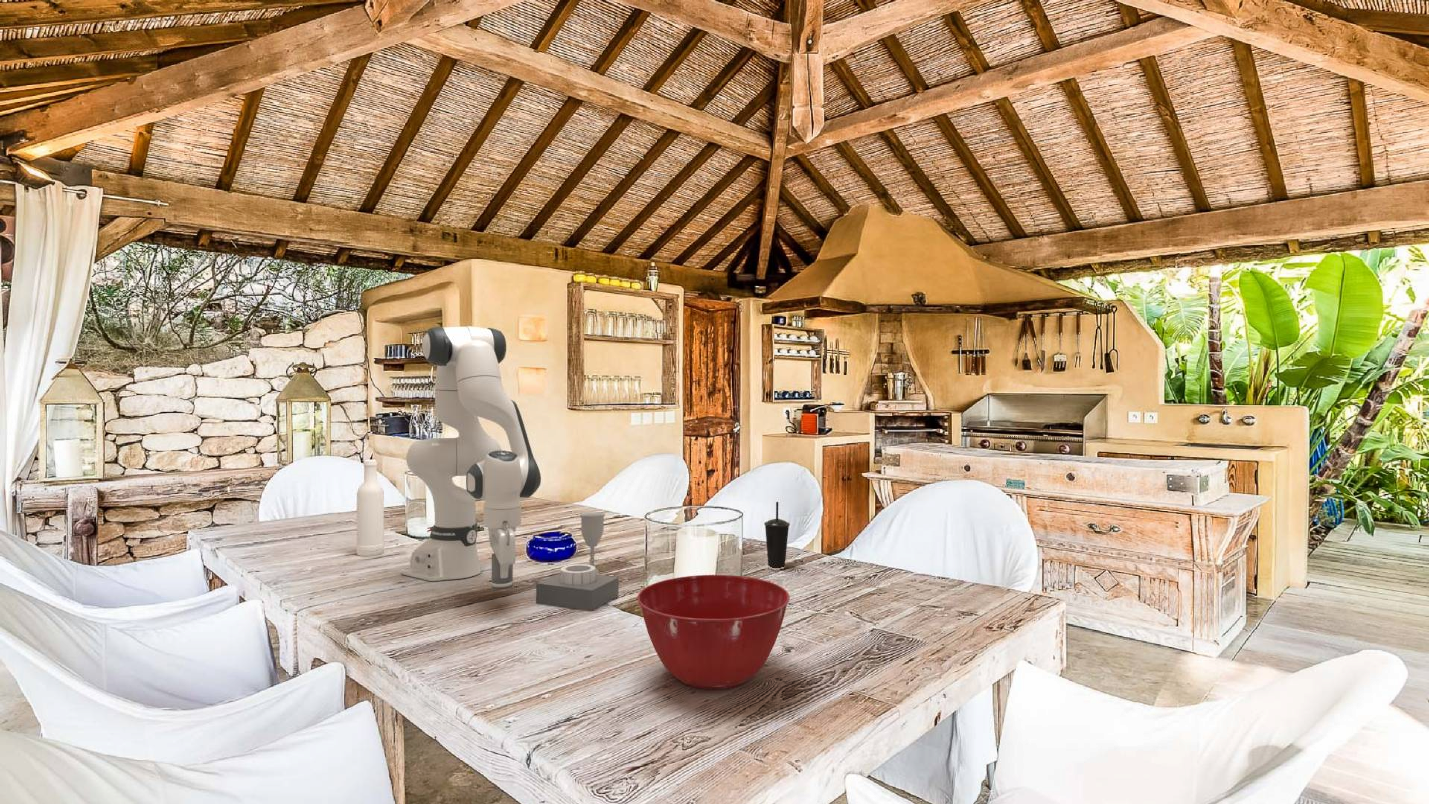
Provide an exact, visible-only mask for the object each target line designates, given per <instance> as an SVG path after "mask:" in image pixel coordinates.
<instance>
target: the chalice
mask: <svg viewBox="0 0 1429 804" xmlns="http://www.w3.org/2000/svg"><path fill="white" fill-rule="evenodd" d="M578 515H579V517H580V519H581V522H580V524H581V525H580V526H581V527H580V532H581V535H582V538H583V540H584V541H585V545H586V546H587V547H589V549H590V551H589V557H590V559H589V560H588V561H589V563H590V564H589V565H592V566H595V562H596V559H595V555H596V553H595V548H596V547H597V546H598V545H599V543H600V541H601V538H602V537H603V533H604V525H605V524H604V519H605V516H606V513H605V512H600V511H599V512H598V511H597V512H596V511H591V512H590V511H589V512H588V511H587V512H582V513H578ZM595 575H601V573H600V571H599V569H598V568H595Z"/></svg>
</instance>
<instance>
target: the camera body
mask: <svg viewBox="0 0 1429 804" xmlns="http://www.w3.org/2000/svg"><path fill="white" fill-rule="evenodd" d="M595 569H596V566H595V565H594V566H592V565H591V564H585V563H584V564H583V563H580V564H579V563H578V564H576V563H575V564H570V565H569V564H568V565H565V566H562V567H561V568H560V573H558V574H556V575H553V576H550V577H547V578H544V579H543V580H540V581H537V582H536V584H535V587H536V588H535V604H538V603H540V604H539V605H546V606H551V607H559V606H561V607H562V608H569V609H574V610H581V609H582V611H589V612H590V611H591V612H592V611H595V610H596V609H599V608H601V607H602V606H604V605H606V604H607V603H609V602H612V601H613V600H616V599H617V598H619V583H620V582H619V577H618V576H609V575H601V574H600V575H595ZM616 597H617V598H616ZM611 600H612V601H611ZM561 607H560V608H561ZM598 607H599V608H598Z"/></svg>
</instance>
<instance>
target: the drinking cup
mask: <svg viewBox="0 0 1429 804" xmlns="http://www.w3.org/2000/svg"><path fill="white" fill-rule="evenodd" d="M790 525H791V524H790V522H788V521H786V520H784V519H782V518H779V501H776V503H775V518H771V519H769V520H768V521H765V522H764V529H765V541H766V553H767V554H766V555H767V567H768V566H770V567H772V568H781V567H784V566H785V567H786V560H787V559H786V556H787V547H788V537H789V529H790Z"/></svg>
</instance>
